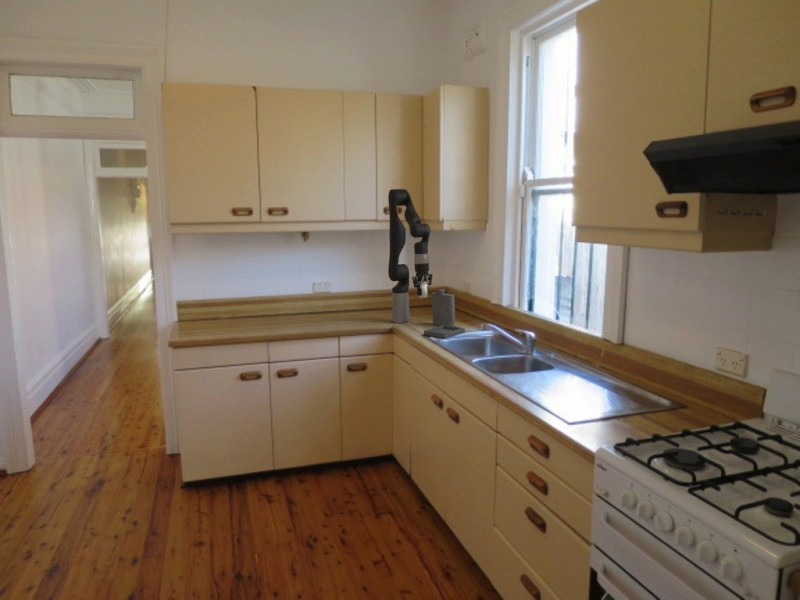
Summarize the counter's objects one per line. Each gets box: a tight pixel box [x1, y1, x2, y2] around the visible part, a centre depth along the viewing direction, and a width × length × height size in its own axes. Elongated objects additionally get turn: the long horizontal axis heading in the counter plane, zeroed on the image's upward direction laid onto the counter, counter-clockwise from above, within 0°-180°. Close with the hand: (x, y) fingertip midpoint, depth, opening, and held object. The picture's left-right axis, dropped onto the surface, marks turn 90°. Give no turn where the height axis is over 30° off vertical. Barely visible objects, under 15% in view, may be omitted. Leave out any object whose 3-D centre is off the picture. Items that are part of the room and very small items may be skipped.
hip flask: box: [431, 288, 456, 327], centre depth 312 cm, size 16×4×20 cm, turn 41°
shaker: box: [418, 282, 429, 299], centre depth 299 cm, size 5×5×8 cm
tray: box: [423, 325, 466, 339], centre depth 293 cm, size 14×16×2 cm
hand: (423, 294), depth 299 cm, fingers closed on shaker, 4 cm apart
